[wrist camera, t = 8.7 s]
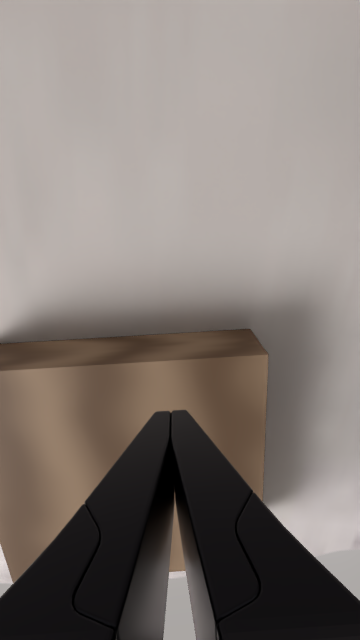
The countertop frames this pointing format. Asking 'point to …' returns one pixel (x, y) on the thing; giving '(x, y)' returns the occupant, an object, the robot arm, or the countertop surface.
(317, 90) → the countertop surface
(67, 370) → the brown flat block
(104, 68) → the countertop surface
